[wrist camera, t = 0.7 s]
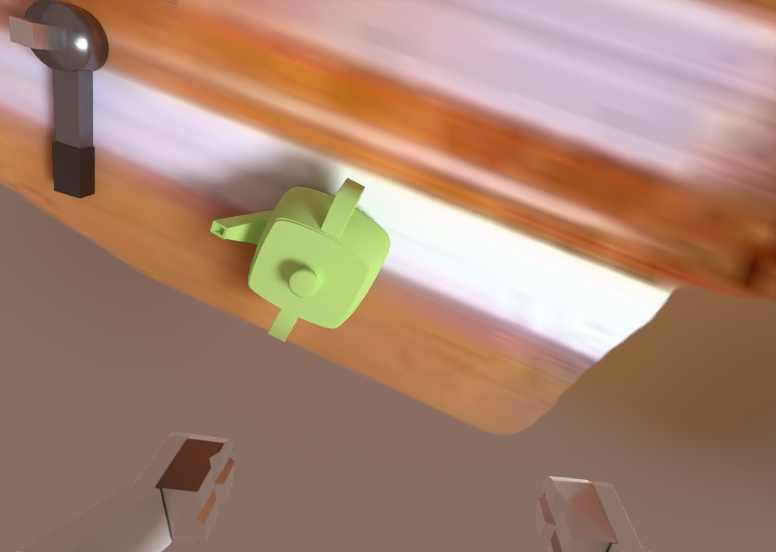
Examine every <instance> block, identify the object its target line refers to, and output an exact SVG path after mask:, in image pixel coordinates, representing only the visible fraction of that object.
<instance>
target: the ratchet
mask: <svg viewBox="0 0 776 552" xmlns="http://www.w3.org/2000/svg"><path fill="white" fill-rule="evenodd" d="M9 25H10V38H11V41H12V42H15V43H18V44H21V45H24V46H27V47H30V48H31V49H32V51H33V52H34V54H35V55H36V56H37V57H38V58H39V59H40V60H41V61H42V62H43V63H44V64H46V65H47V66H49V67H51V68H53V85H54V110H55V135H56V141H53V142H52V152H53V175H54V191H57V192H61V193H64V194H67V195H71V196H74V197H77V198H83V197H86V196H89V195H92V194H95V153H94V147H93V71H96V70H98V69H100V68H101V67H102V66H103V65H104V64H105V62H106V60H107V57H108V50H109V48H108V40H107V36H106V34H105V31H104V29H103V27H102V26H101V24H100V23H99V22H98V20H97V19H96V18H95V17H94V16H93V15H92V14H91V13H89V12H88V11H86V10H84V9H82V8H80V7H76V6H72V5H67V4H63V3H58V2H54V1H50V0H41V1H37V2H35V3H33V4H32V5H31V6H30V7H29V8H28V10H27V12H26V14H25V17H24V18H21V17H15V16H9Z"/></svg>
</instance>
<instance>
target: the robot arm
mask: <svg viewBox="0 0 776 552" xmlns="http://www.w3.org/2000/svg"><path fill="white" fill-rule="evenodd" d="M232 451H233V446H232V441H231V440H228V439H222V438H221V439H220V438H215V437H208V436H201V435H193V434H185V433H178V432H173V433H172V434H170V435H169V436H168V437H167V438H166V439H165V440H164V442H163V443H162V445H161V446H160V447H159V449H158V450H157V451H156V453H155V454H154V456H153V457H152V459H151V460H150V461H149V463H148V464H147V465H146V467H145V468H144V469H143V471H142V472H141V474H140V475H139V476H138V478H137V479H136V481H135V482H134V483H133V485H125V486H123V487H122V488H120V489H119V490H117V491H115V492H114V493H112V494H110V495H109V496H107V497H105V498H104V499H102V500H101V501H99V502H97V503H95V504H94V505H92V506H90V507H89V508H87V509H86V510H84V511H82V512H81V513H79V514H77V515H76V516H74V517H72V518H71V519H69V520H68V521H66V522H64V523H63V524H61V525H59V526H58V527H56V528H54V529H53V530H51V531H49V532H48V533H46V534H44V535H43V536H41V537H39V538H38V539H36V540H35V541H33V542H31V543H30V544H28V545H26V546H25V547H23V548H21V549H20V550H18V551H17V552H161V551H162V550H164V549H165V548H166V547H167V546H168V545H169V544H170V543H171V542H172V541H171V540H175V541H186V542H196V543H207V541H208V539H209V537H210V535H211V532H212V530H213V528H214V526H215V524H216V522H217V520H218V518H219V517H218V509H217V508H218V507H219V506H220V505H222V504H223V503H224V502H226V501H227V498H228V496H229V494H230V492H231V489H232V485H233V481H234V476H235V463H234V461H233V460H232V459H231V458H230V455H231V453H232ZM543 488H544V491H545V494H544V495H543V496H541V497H540V498H539V499H538V503H537V506H536V526H537V531H538V535H539V539H540V540H541V541H542V542H543V544H544V545H545V546H546V547H547V551H546V552H652V551H651V550H650V549H649V548H644V547H642V546H641V544H640V542H639V539H638V538H637V535H636V533H635V531H634V529H633V527H632V525H631V523H630V521H629V518H628V516H627V514H626V512H625V511H624V508H623V506H622V504H621V502H620V500H619V498H618V496H617V494H616V491H615V489H614V487H613V486H612V485H611V484H610V483H606V482H597V481H587V480H582V479H572V478H561V477H553V476H548V477H547V478H546V479H545V481H544V484H543Z"/></svg>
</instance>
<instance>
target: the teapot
mask: <svg viewBox="0 0 776 552" xmlns="http://www.w3.org/2000/svg"><path fill="white" fill-rule="evenodd" d="M364 188H365V187H364V186H362V185H360V184H358V183H356V182H354V181H352V180H351V179H349V178H347V179H346V181H345V182H344V184H343V185H342V187H341V188H340V190H339V191H338V193H337V194H336V196H335V197H334V196H331V195H329V194H326V193H323V192H321V191H318V190H315V189H311V188H307V187H300V186H298V187H292V188H291V189H289V190H288V191H287V192H286V193H285V194H284V195H283V196H282V197H281V198H280V200H279V202H278V203H277V205H276V207H275V209H274V211H272V210H268V211H263V212H257V213H251V214H245V215H240V216H234V217H228V218H222V219H217V220H213V223H212V226H211V229H210V232H212V233H214V234H215V235H217V236H219V237H221V238H222V239H230V240H235V241H241V242H247V243H252V244H256V245H257V248H256V251H255V254H254V257H253V260H252V263H251V267H250V270H249V275H248V285H249V287H250V288H251V289H252V290H253V291H254V292H255V293H257V294H258V295H259V296H261V297H262V298H264V299H265V300H267V301H269V302H270V303H272V304H274V305H275V306H277V307H279V308H281V309H280V311H279V313H278V315H277V317H276V319H275V320H274V322H273V324H272V326H271V328H270V330H269V332H268V334H270V335H272V336H274V337H276V338H278V339H280V340H282V341H285V340H286V338H287V336H288V334H289V333H290V331H291V329H292V327H293V326H294V324H295V322H296V320H297V318H298V317H299V318H302V319H304V320H306V321H309V322H311V323H314V324H317V325H320V326H323V327H327V328H337V327H338V326H340V325H341V324H342V323H343V322H344V321H345V320H347V319H348V318H349V317H350V316H351V315H352V313H353V312H354V310H355V309H356V308H357V306H358V305H359V304H360V302H361V301H362V299H363V298H364V297H365V295H366V294H367V292H368V290H369V289H370V287H371V286H372V284H373V282H374V280H375V278H376V277H377V275H378V273H379V271H380V269H381V266H382V264H383V262H384V260H385V258H386V256H387V253H388V251H389V246H390V239H389V236H388V234H387V233H386V232H385V230H384V229H383V228H382V227H381V226H379V225H378V224H377V223H376V222H375V221H373V220H372V219H371V218H370V217H368V216H367V215H365V214H364V213H363V212H361V211H360V210H358V209H357V208H356V206H357V203H358V201H359V199H360V197H361V195H362V193H363V191H364Z"/></svg>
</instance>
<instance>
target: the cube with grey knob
mask: <svg viewBox="0 0 776 552" xmlns="http://www.w3.org/2000/svg"><path fill="white" fill-rule="evenodd" d="M166 1H169V2H172V3H175V4H178V0H166Z"/></svg>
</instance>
